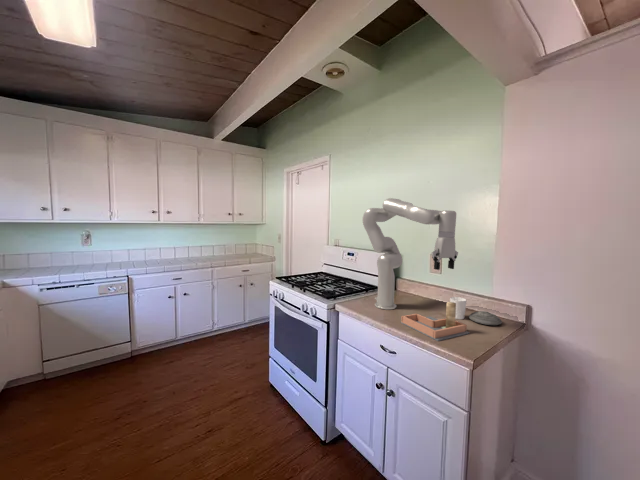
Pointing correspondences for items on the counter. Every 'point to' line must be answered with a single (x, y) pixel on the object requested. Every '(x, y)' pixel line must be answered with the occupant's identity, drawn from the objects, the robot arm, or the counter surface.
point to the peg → (450, 314)
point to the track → (434, 327)
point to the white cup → (459, 306)
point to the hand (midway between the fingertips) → (443, 269)
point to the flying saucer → (485, 318)
